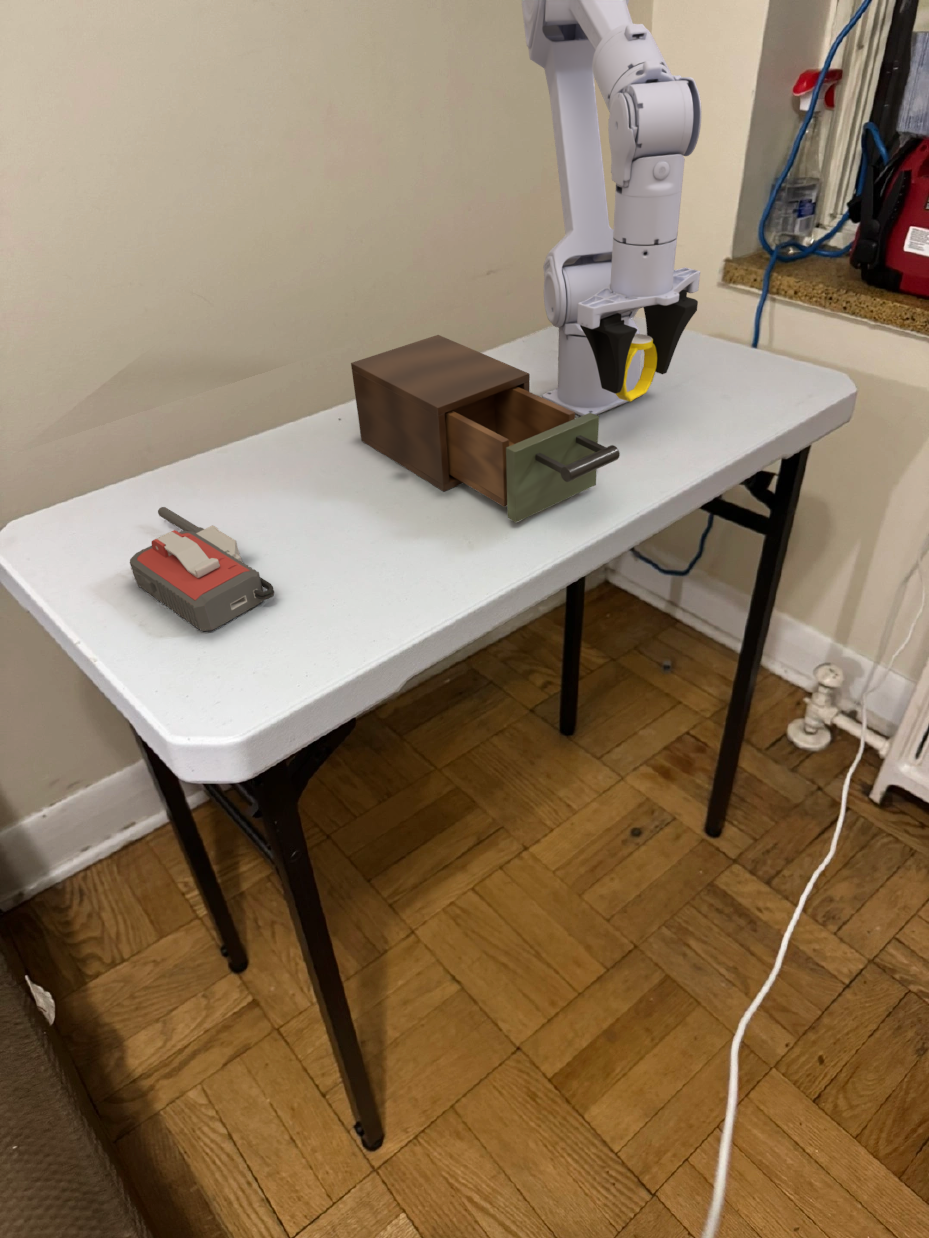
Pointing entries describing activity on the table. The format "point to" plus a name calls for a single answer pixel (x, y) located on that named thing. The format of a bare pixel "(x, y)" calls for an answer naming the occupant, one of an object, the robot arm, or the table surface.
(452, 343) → the cabinet
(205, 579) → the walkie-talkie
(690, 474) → the table surface
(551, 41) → the robot arm
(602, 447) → the drawer
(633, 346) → the watch
